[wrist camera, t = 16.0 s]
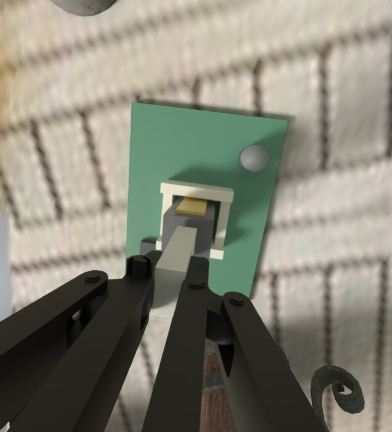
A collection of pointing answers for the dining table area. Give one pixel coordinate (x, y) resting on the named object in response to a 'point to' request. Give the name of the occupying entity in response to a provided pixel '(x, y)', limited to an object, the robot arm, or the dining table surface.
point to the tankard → (352, 403)
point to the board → (204, 182)
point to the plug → (191, 222)
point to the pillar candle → (83, 6)
